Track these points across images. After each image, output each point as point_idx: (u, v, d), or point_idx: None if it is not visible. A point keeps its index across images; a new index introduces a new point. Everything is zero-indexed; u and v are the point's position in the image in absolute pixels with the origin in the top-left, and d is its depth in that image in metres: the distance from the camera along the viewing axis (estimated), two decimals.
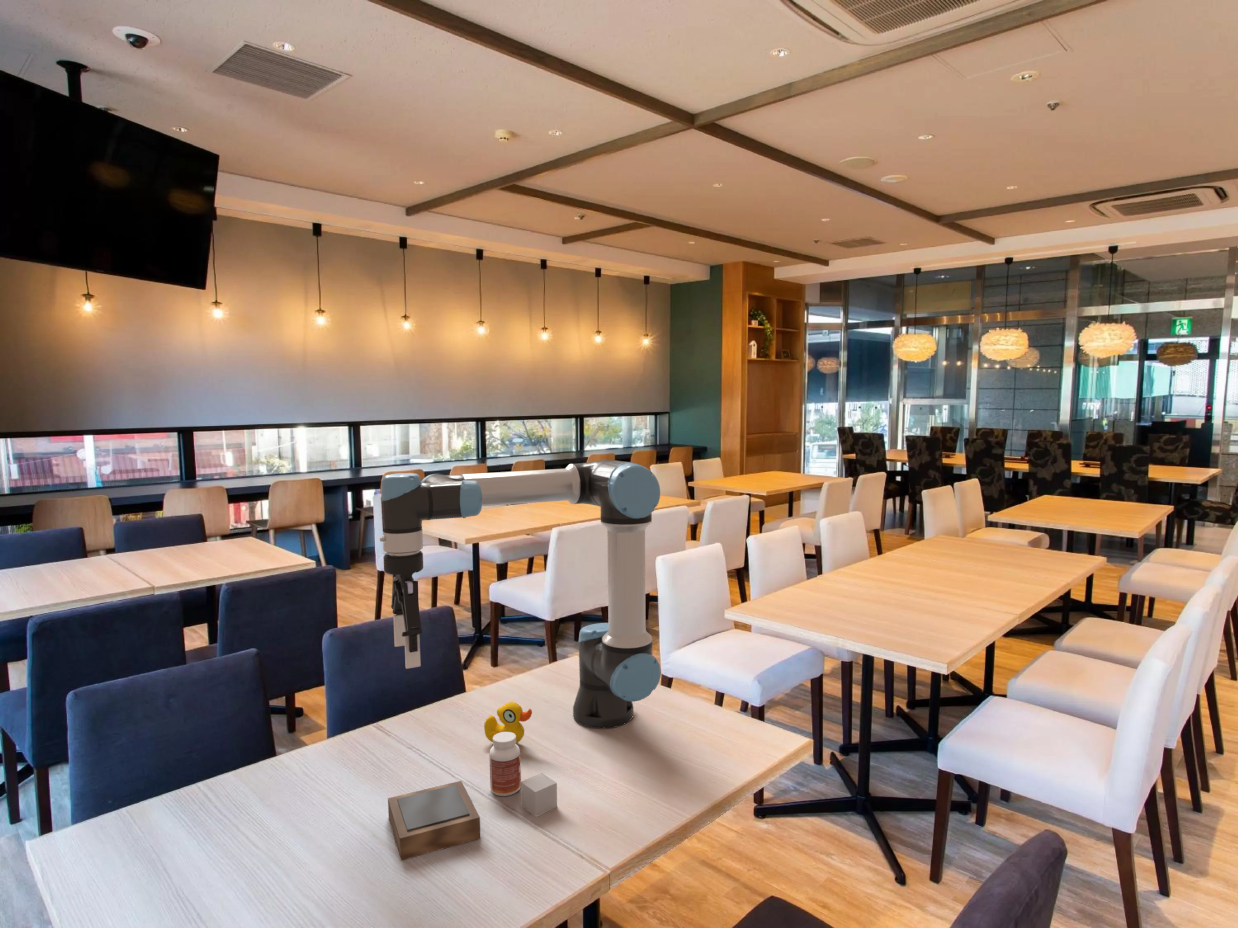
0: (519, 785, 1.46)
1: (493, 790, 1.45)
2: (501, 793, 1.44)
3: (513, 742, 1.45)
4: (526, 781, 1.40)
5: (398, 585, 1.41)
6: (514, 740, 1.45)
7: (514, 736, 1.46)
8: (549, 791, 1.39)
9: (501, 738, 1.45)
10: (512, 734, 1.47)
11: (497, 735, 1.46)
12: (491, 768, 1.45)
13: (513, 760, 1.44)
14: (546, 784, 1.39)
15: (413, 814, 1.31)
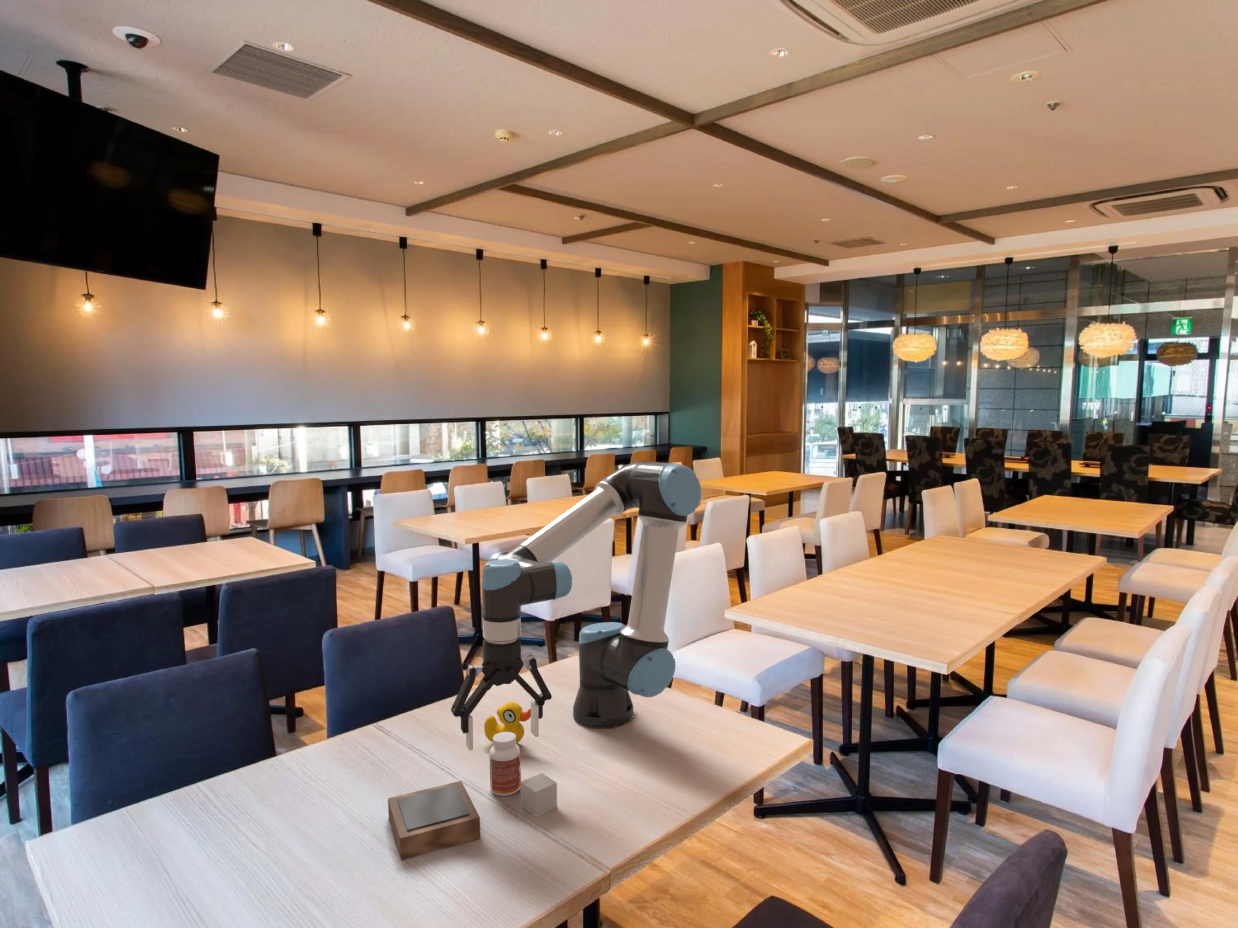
0: (519, 785, 1.46)
1: (493, 790, 1.45)
2: (501, 793, 1.44)
3: (513, 742, 1.45)
4: (526, 781, 1.40)
5: None
6: (514, 740, 1.45)
7: (514, 736, 1.46)
8: (549, 791, 1.39)
9: (501, 738, 1.45)
10: (512, 734, 1.47)
11: (497, 735, 1.46)
12: (491, 768, 1.45)
13: (513, 760, 1.44)
14: (546, 784, 1.39)
15: (413, 814, 1.31)
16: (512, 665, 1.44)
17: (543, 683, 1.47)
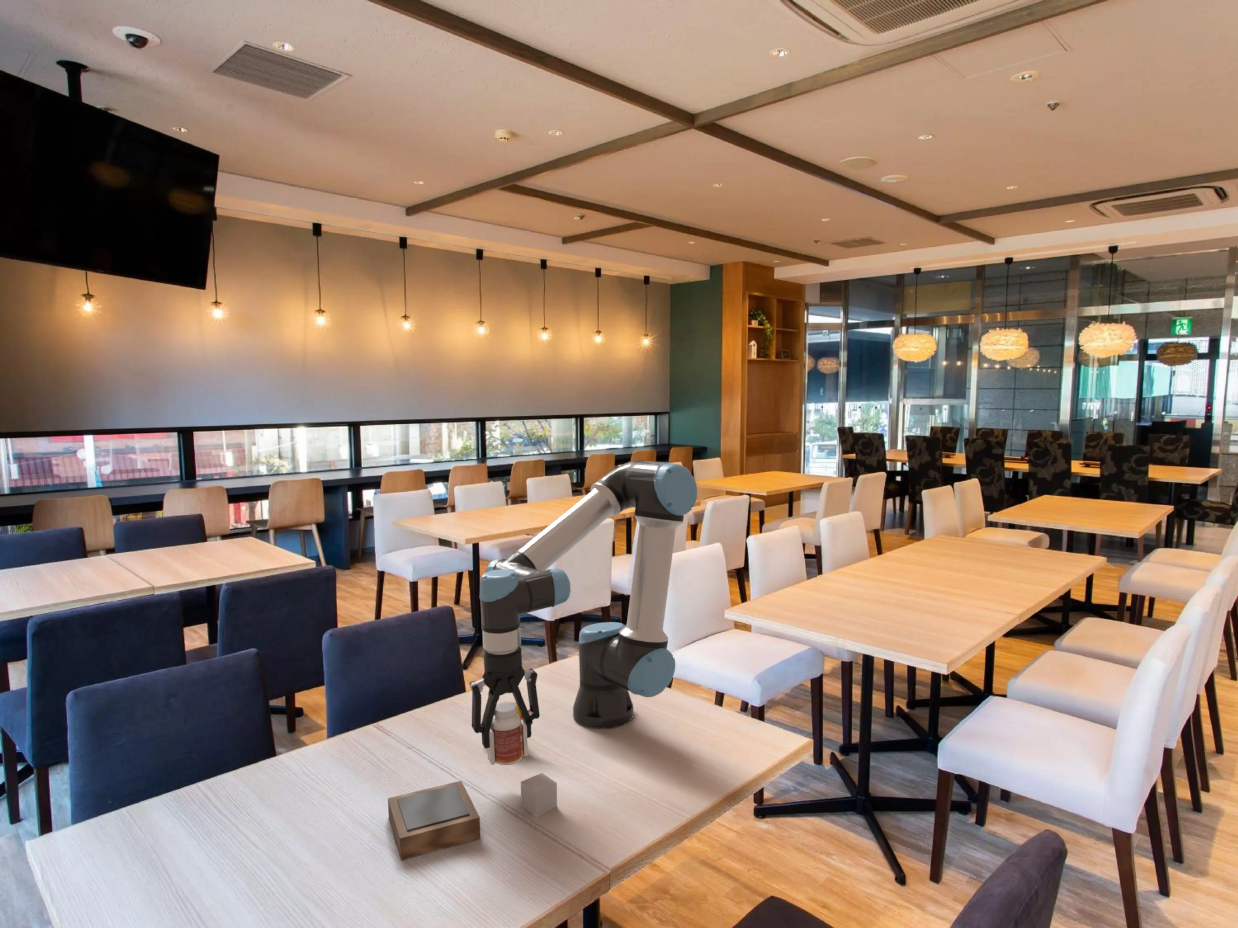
0: (521, 754, 1.46)
1: (495, 760, 1.44)
2: (503, 762, 1.44)
3: (514, 712, 1.44)
4: (526, 781, 1.40)
5: None
6: (515, 710, 1.45)
7: (515, 705, 1.46)
8: (549, 791, 1.39)
9: (502, 708, 1.45)
10: (513, 704, 1.47)
11: (498, 705, 1.46)
12: None
13: (514, 729, 1.44)
14: (546, 784, 1.39)
15: (413, 814, 1.31)
16: (514, 672, 1.45)
17: (536, 700, 1.47)
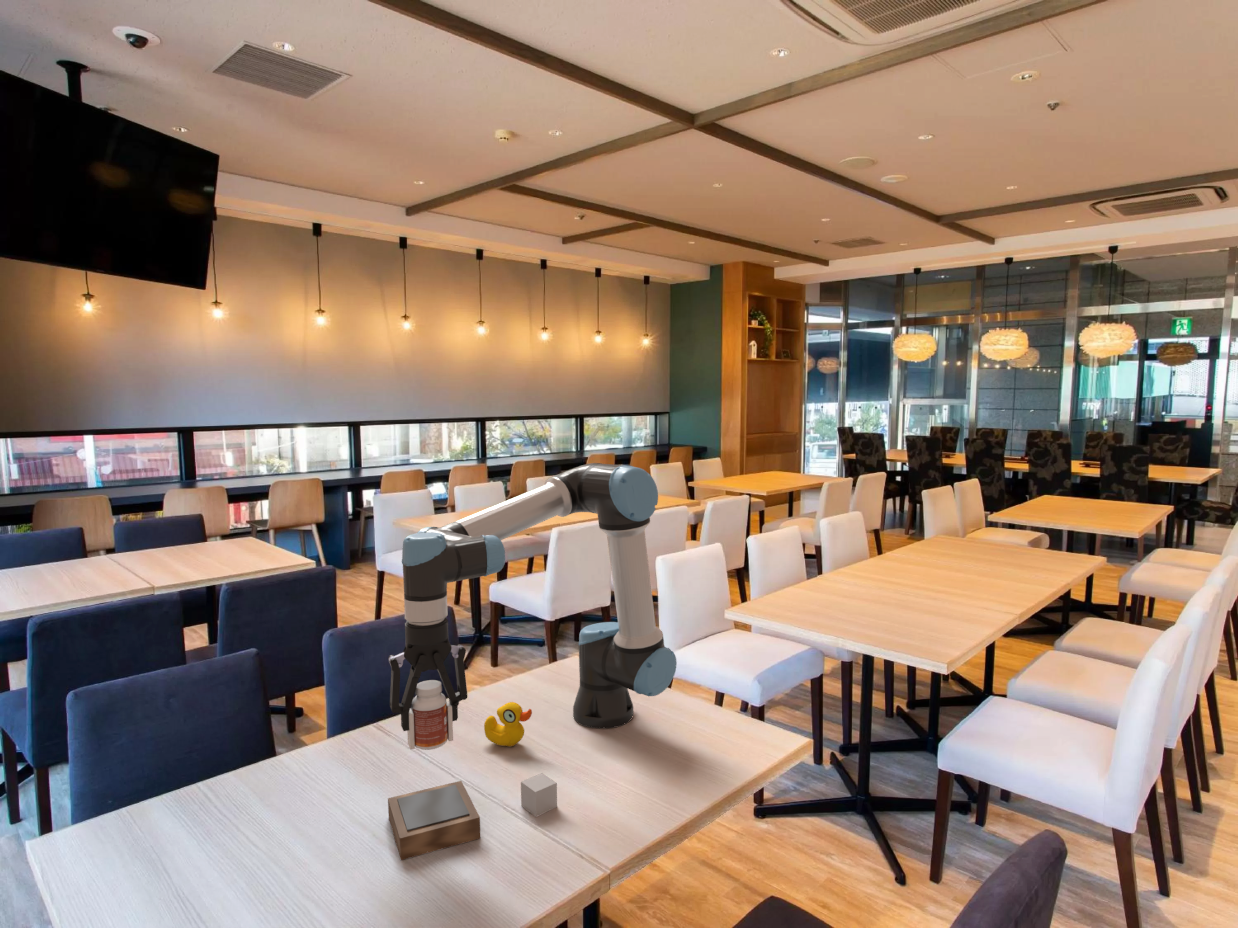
0: (445, 738, 1.31)
1: (415, 743, 1.30)
2: (423, 747, 1.29)
3: (437, 690, 1.30)
4: (526, 781, 1.40)
5: None
6: (439, 688, 1.30)
7: (439, 684, 1.31)
8: (549, 791, 1.39)
9: (424, 686, 1.30)
10: (438, 682, 1.32)
11: (421, 683, 1.32)
12: None
13: (437, 710, 1.29)
14: (546, 785, 1.39)
15: (413, 814, 1.31)
16: (439, 646, 1.30)
17: (464, 679, 1.33)
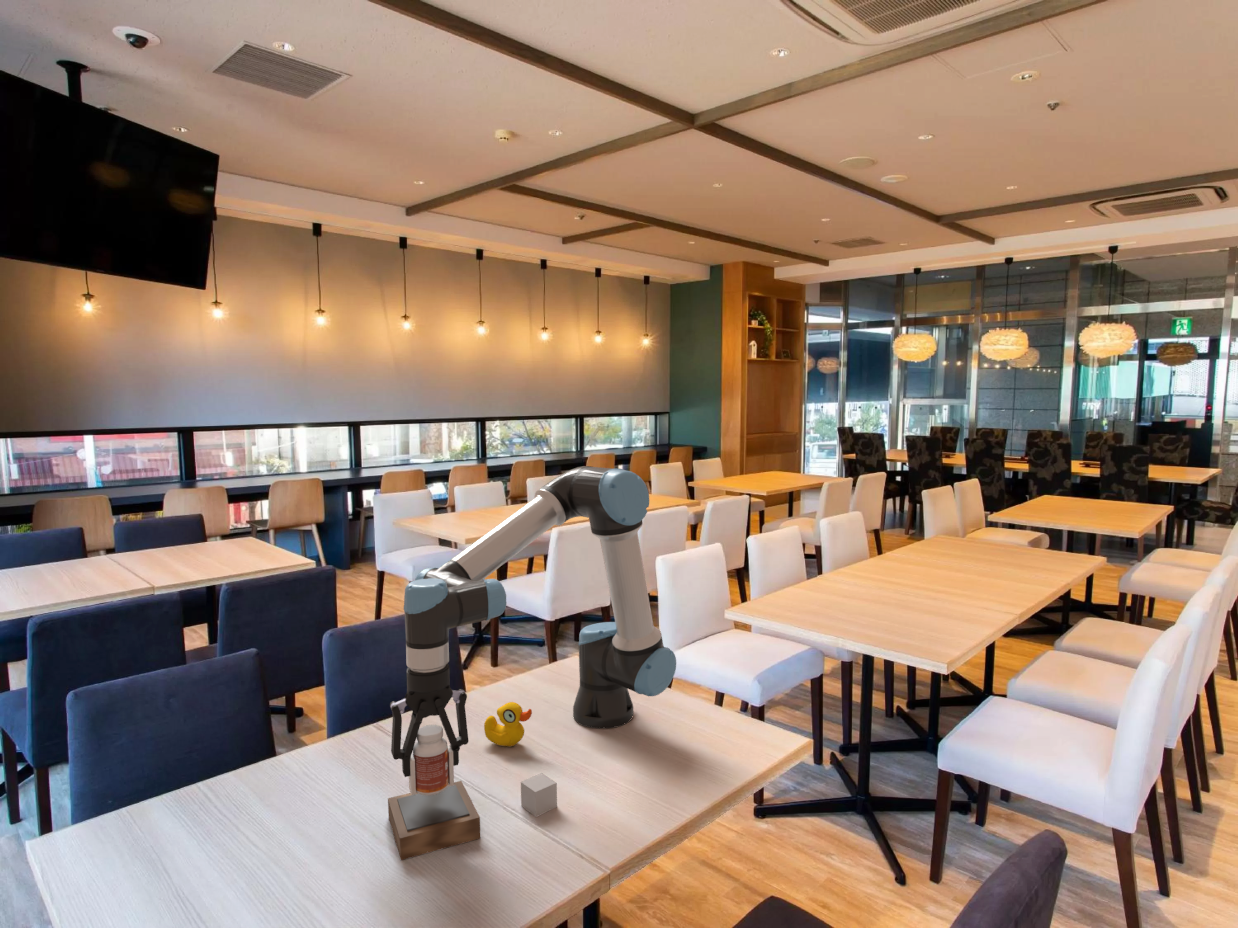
0: (446, 784, 1.32)
1: (416, 789, 1.31)
2: (425, 792, 1.30)
3: (439, 736, 1.31)
4: (526, 781, 1.40)
5: None
6: (440, 734, 1.31)
7: (441, 729, 1.32)
8: (549, 791, 1.39)
9: (425, 731, 1.31)
10: (439, 727, 1.33)
11: (422, 728, 1.33)
12: None
13: (438, 756, 1.30)
14: (546, 784, 1.39)
15: (413, 814, 1.31)
16: (440, 692, 1.31)
17: (465, 724, 1.33)
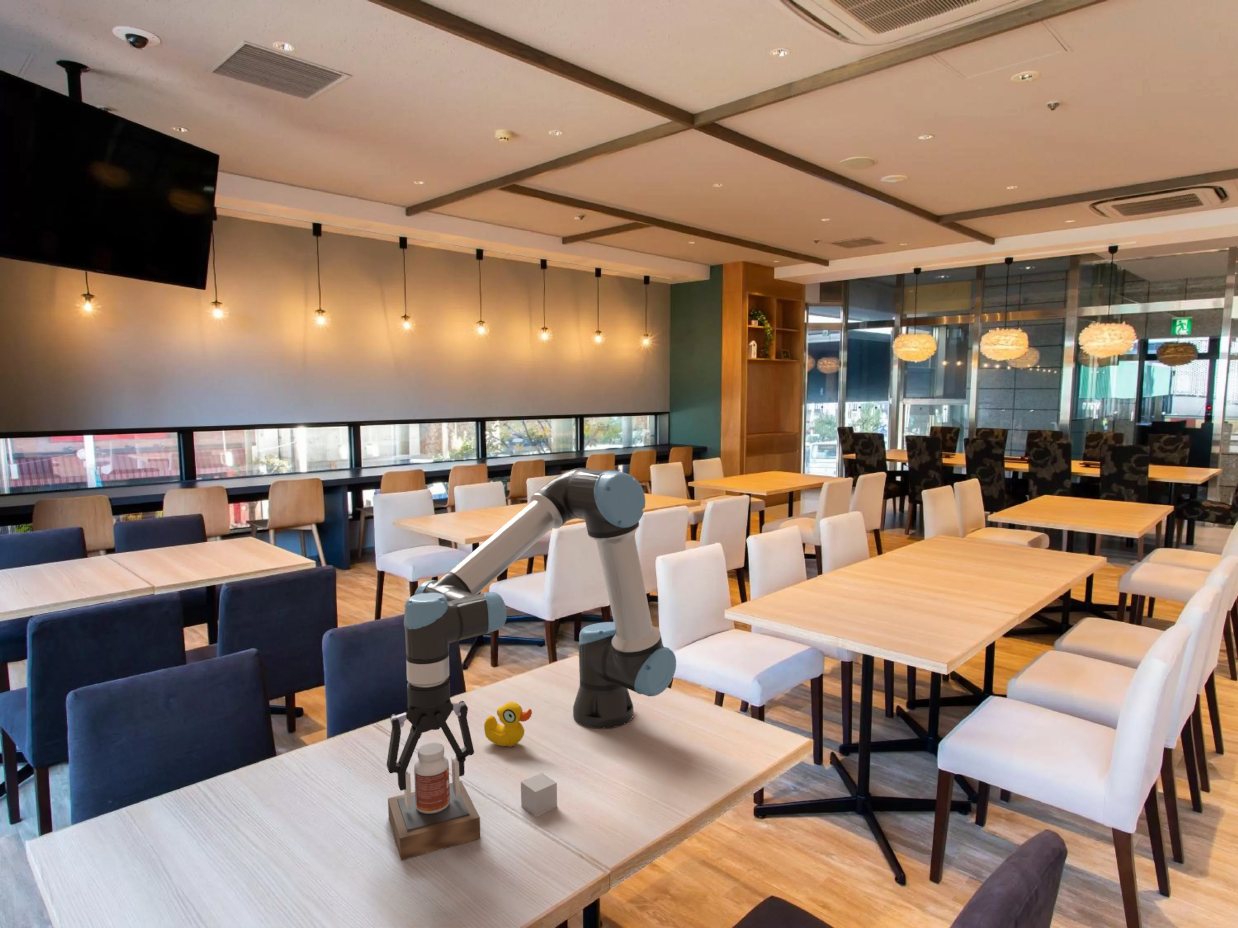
0: (447, 801, 1.32)
1: (418, 807, 1.31)
2: (426, 811, 1.30)
3: (440, 755, 1.31)
4: (526, 781, 1.40)
5: None
6: (441, 752, 1.31)
7: (442, 747, 1.32)
8: (549, 791, 1.39)
9: (427, 750, 1.31)
10: (440, 745, 1.33)
11: (423, 746, 1.33)
12: (415, 783, 1.31)
13: (439, 774, 1.30)
14: (546, 785, 1.39)
15: (413, 814, 1.31)
16: (441, 707, 1.31)
17: (468, 735, 1.34)
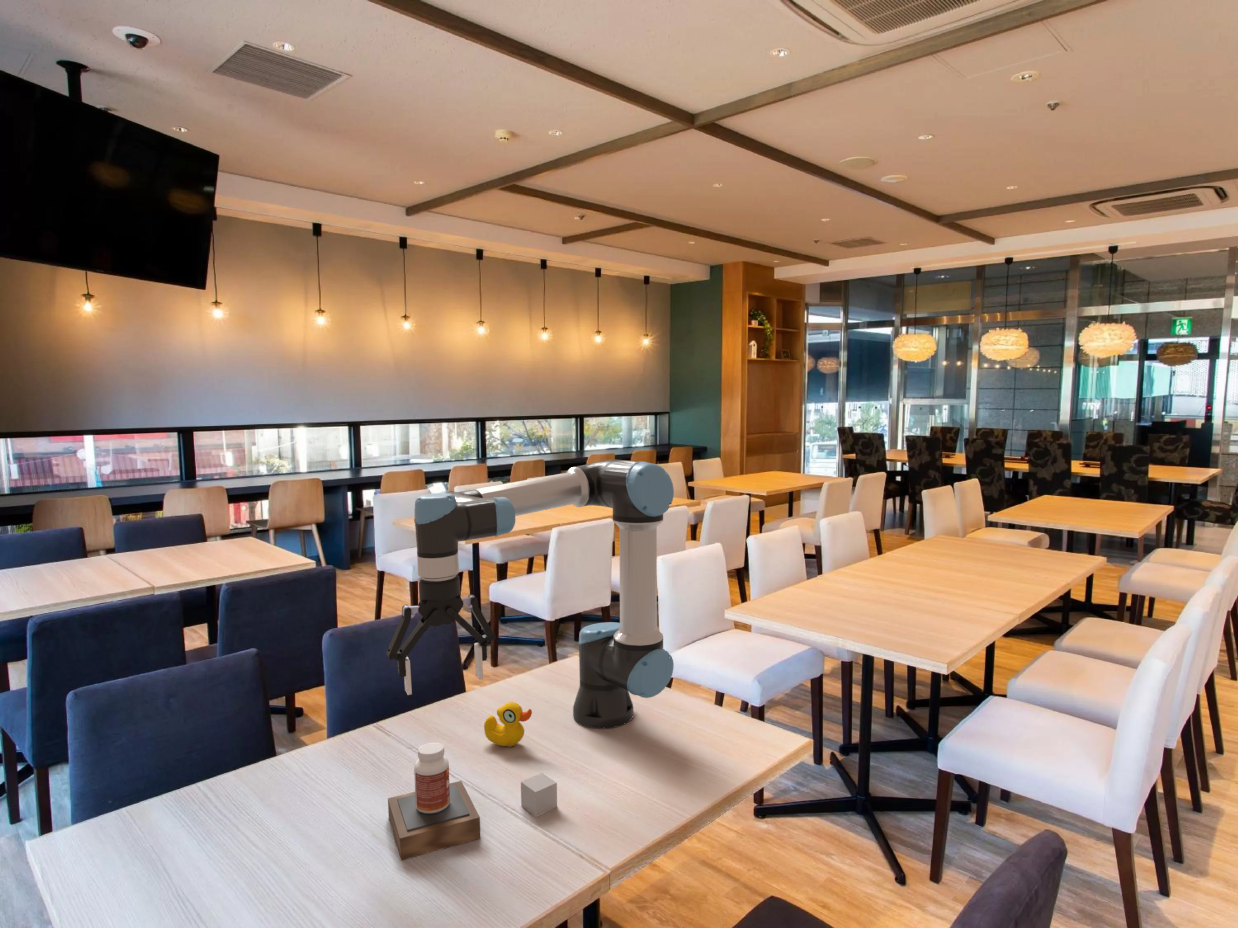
0: (447, 801, 1.32)
1: (418, 807, 1.31)
2: (426, 810, 1.30)
3: (440, 754, 1.31)
4: (526, 781, 1.40)
5: None
6: (441, 752, 1.32)
7: (442, 747, 1.32)
8: (549, 791, 1.39)
9: (427, 749, 1.32)
10: (440, 745, 1.33)
11: (423, 746, 1.33)
12: (416, 783, 1.31)
13: (439, 774, 1.30)
14: (546, 785, 1.39)
15: (413, 814, 1.31)
16: (451, 604, 1.36)
17: (486, 623, 1.39)
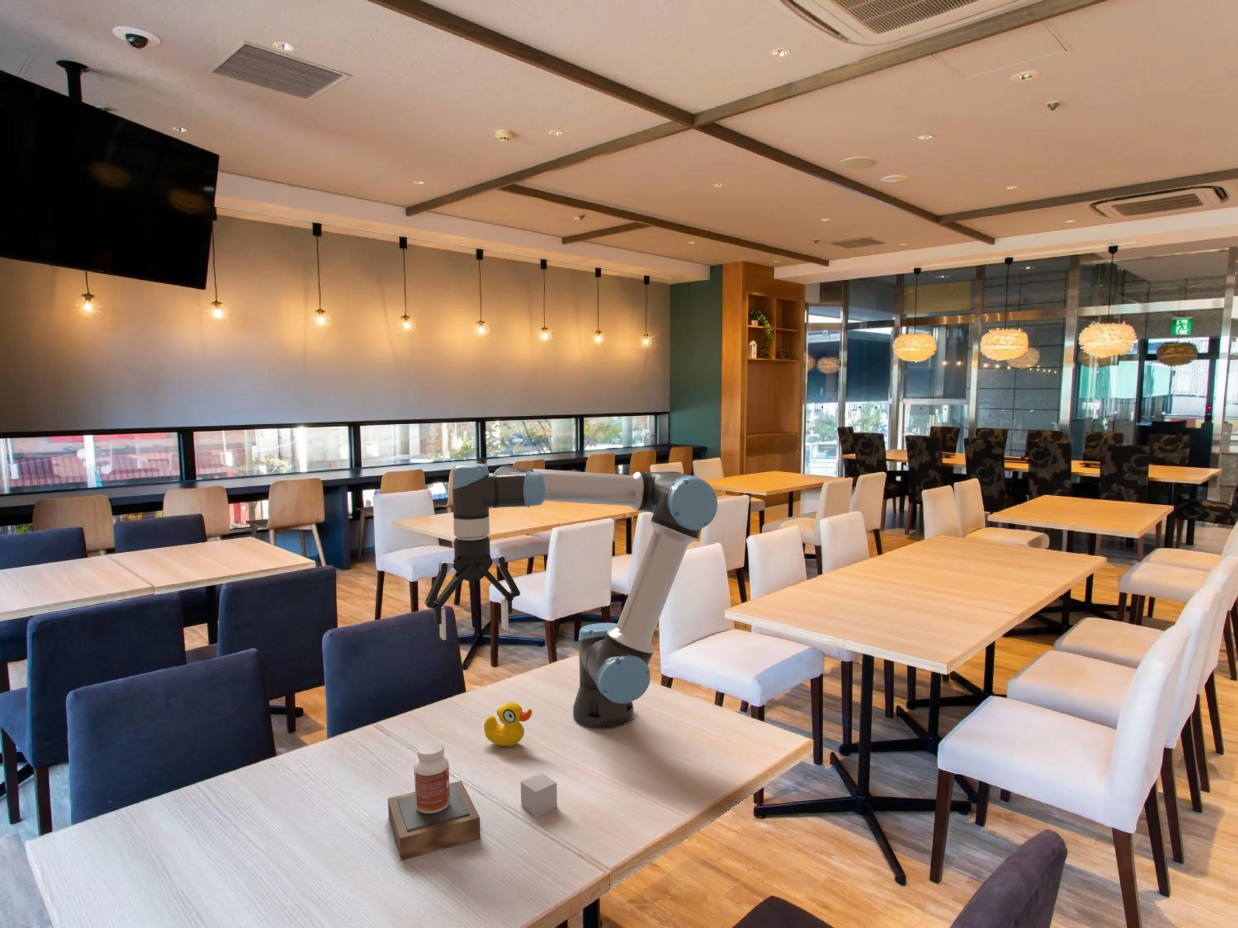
0: (447, 801, 1.32)
1: (418, 807, 1.31)
2: (426, 811, 1.30)
3: (440, 754, 1.31)
4: (526, 781, 1.40)
5: None
6: (441, 752, 1.32)
7: (442, 747, 1.32)
8: (549, 791, 1.39)
9: (426, 749, 1.32)
10: (440, 745, 1.33)
11: (423, 746, 1.33)
12: (415, 783, 1.31)
13: (439, 774, 1.30)
14: (546, 784, 1.39)
15: (413, 814, 1.31)
16: (482, 562, 1.54)
17: (512, 580, 1.57)
